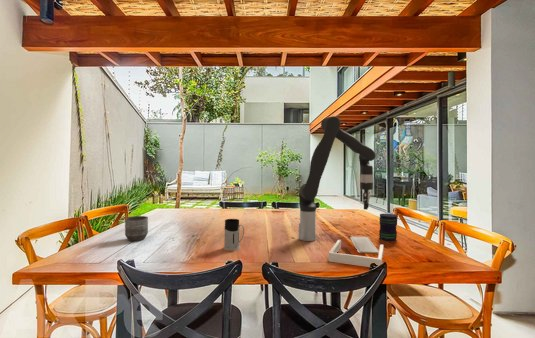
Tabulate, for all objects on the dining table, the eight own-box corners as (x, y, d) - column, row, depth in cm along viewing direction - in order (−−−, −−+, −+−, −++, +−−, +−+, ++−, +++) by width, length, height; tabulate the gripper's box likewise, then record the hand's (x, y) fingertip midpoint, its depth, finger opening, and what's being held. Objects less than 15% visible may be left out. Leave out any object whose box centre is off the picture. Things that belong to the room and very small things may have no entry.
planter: (120, 241, 168) (120, 218, 168) (136, 236, 180) (136, 215, 179) (136, 243, 164) (136, 220, 164) (152, 238, 175) (152, 216, 175)
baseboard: (355, 253, 151) (379, 255, 150) (355, 248, 151) (379, 249, 150) (347, 238, 182) (367, 239, 180) (347, 233, 182) (367, 234, 180)
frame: (328, 261, 138) (328, 252, 138) (338, 247, 161) (338, 239, 161) (381, 268, 129) (381, 259, 129) (383, 252, 152) (383, 244, 152)
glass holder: (233, 244, 163) (233, 217, 163) (250, 250, 153) (250, 221, 153) (220, 248, 157) (220, 220, 156) (236, 254, 147) (237, 224, 146)
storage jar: (393, 237, 183) (394, 213, 182) (399, 242, 173) (399, 216, 172) (377, 237, 184) (377, 213, 183) (381, 241, 174) (382, 216, 173)
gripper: (361, 180, 192) (361, 206, 193) (359, 182, 179) (358, 209, 180) (373, 181, 189) (373, 207, 190) (372, 182, 176) (371, 210, 177)
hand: (366, 208), depth 185 cm, fingers open, 6 cm apart
